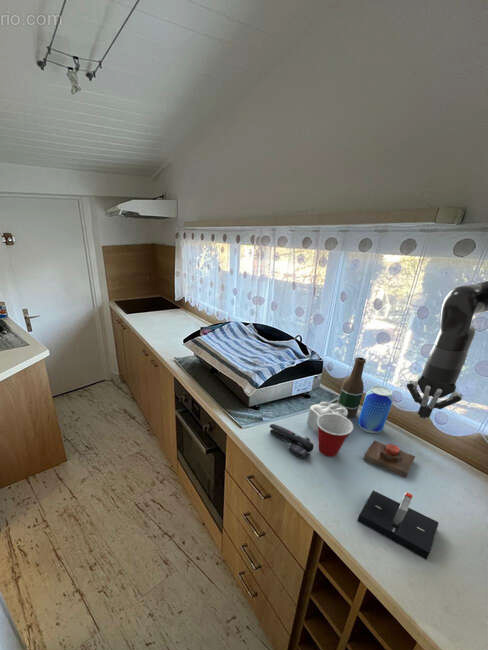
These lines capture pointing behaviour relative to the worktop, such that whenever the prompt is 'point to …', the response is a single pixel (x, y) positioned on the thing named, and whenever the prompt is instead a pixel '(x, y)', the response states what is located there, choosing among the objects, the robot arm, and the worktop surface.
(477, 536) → the worktop surface
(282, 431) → the can opener
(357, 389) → the beer bottle
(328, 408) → the white bumpy block
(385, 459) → the button block
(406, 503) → the tap handle
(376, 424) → the beer can
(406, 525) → the lever switch
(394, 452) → the button
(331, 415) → the plastic cup
